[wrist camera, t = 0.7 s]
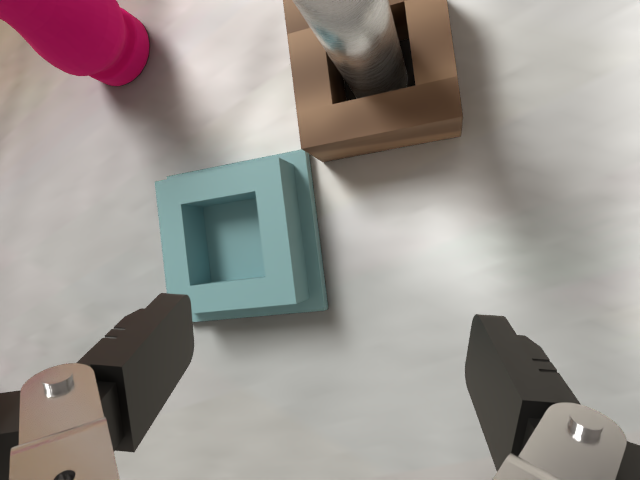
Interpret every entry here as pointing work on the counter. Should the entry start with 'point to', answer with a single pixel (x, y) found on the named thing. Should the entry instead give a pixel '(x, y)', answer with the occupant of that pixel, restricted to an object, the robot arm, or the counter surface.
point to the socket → (243, 238)
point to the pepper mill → (82, 36)
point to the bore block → (381, 109)
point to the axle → (359, 42)
